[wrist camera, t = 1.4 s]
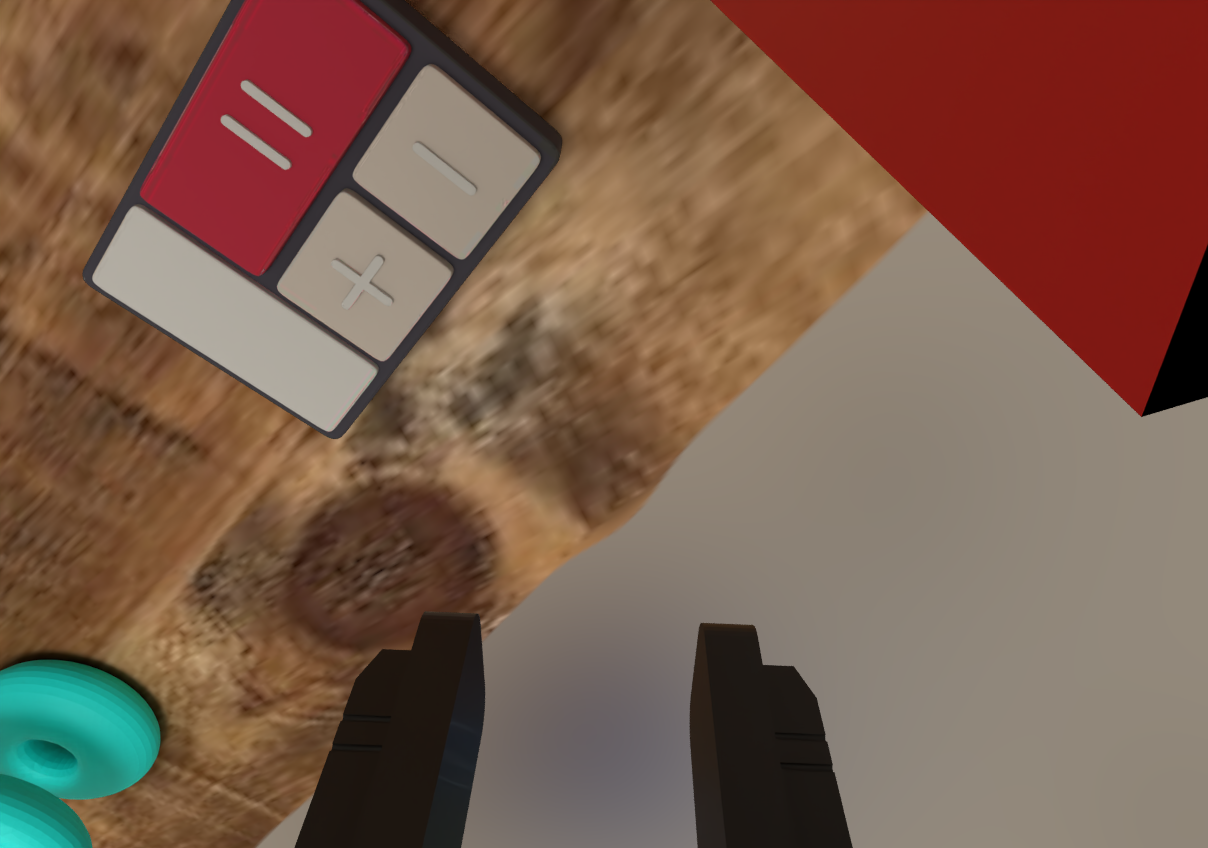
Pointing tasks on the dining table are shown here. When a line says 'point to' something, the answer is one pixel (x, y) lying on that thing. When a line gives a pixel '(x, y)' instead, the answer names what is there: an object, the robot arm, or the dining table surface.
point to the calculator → (320, 198)
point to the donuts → (66, 748)
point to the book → (1038, 153)
